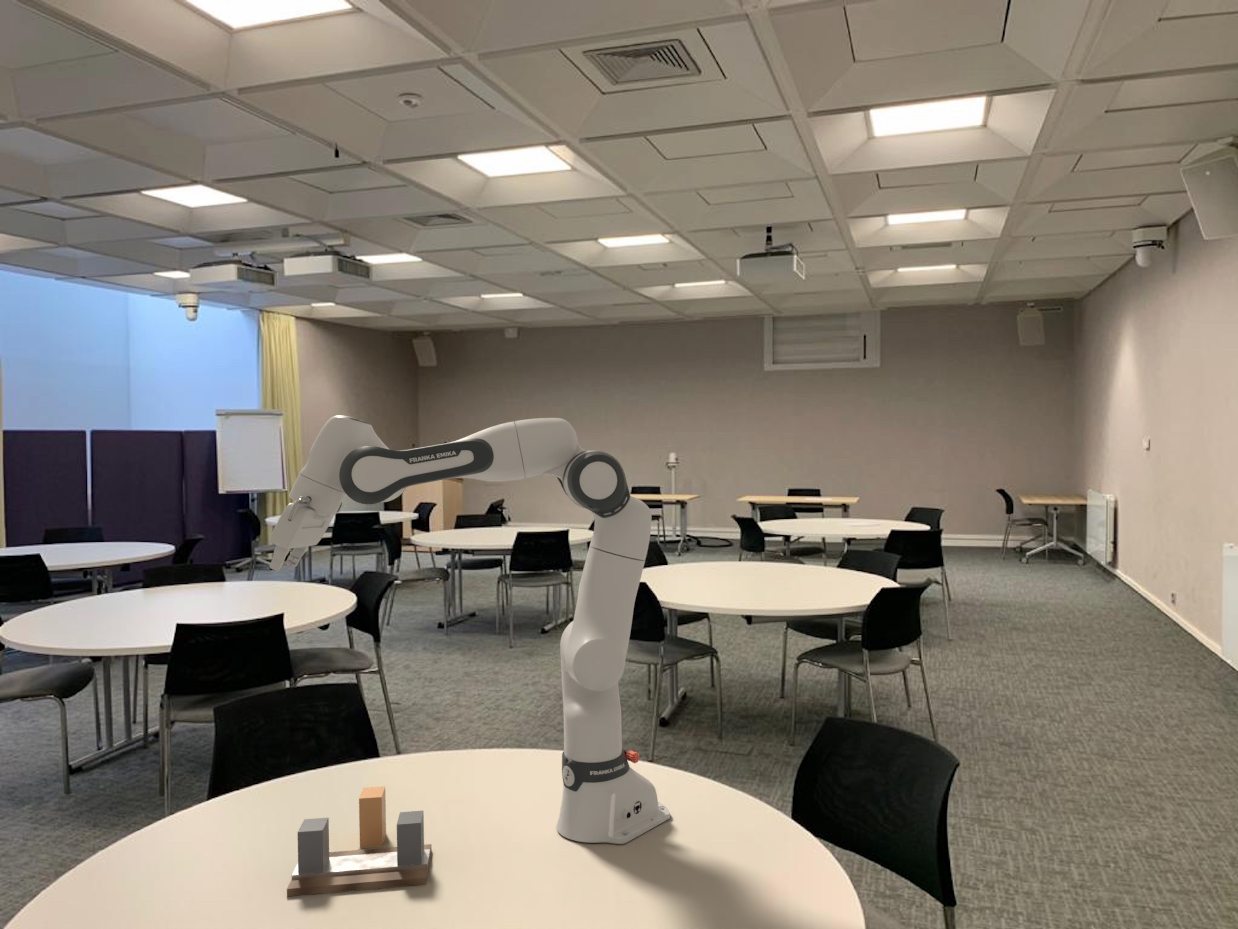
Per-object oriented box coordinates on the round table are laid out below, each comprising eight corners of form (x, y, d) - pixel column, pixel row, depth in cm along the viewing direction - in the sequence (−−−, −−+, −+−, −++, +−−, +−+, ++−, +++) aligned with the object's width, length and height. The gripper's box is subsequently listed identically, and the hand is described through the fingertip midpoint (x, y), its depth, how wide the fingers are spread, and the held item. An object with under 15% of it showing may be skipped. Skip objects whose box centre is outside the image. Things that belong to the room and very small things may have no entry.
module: (386, 834, 157) (385, 786, 157) (382, 846, 152) (381, 797, 152) (364, 835, 157) (363, 787, 157) (359, 848, 152) (358, 798, 152)
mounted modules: (424, 850, 147) (423, 810, 147) (421, 864, 142) (420, 822, 142) (305, 859, 144) (304, 819, 144) (298, 874, 139) (297, 832, 139)
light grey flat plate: (430, 852, 147) (430, 849, 147) (427, 867, 142) (427, 864, 142) (299, 863, 144) (299, 859, 144) (291, 879, 138) (291, 875, 138)
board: (431, 850, 150) (431, 844, 150) (426, 884, 138) (425, 877, 138) (303, 861, 147) (303, 854, 147) (286, 896, 135) (286, 889, 135)
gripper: (317, 503, 142) (281, 579, 141) (344, 504, 162) (313, 570, 161) (282, 488, 142) (246, 564, 140) (314, 491, 162) (283, 557, 161)
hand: (282, 567), depth 151 cm, fingers open, 8 cm apart
